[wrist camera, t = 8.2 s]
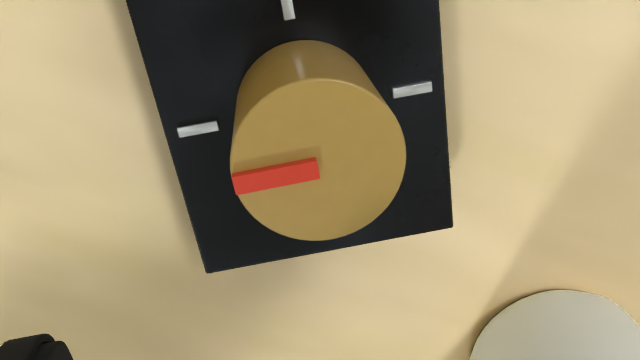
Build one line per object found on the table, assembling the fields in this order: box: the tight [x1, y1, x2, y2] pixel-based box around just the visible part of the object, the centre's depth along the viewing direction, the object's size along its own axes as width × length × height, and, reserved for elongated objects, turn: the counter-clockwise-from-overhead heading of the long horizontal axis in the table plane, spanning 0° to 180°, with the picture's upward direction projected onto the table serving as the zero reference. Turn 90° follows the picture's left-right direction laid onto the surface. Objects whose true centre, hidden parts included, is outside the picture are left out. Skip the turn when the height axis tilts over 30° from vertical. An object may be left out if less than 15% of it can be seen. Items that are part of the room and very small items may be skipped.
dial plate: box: [126, 0, 453, 273], centre depth 21 cm, size 12×10×3 cm
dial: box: [230, 40, 406, 241], centre depth 17 cm, size 5×5×5 cm
